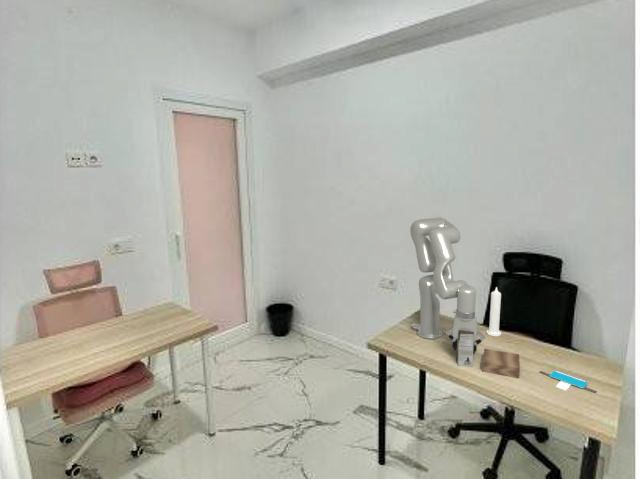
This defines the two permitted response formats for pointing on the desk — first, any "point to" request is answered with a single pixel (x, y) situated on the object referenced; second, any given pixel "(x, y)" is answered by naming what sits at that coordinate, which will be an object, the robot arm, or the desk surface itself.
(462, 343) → the coffee box
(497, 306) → the candle
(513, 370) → the walnut block
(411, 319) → the desk surface
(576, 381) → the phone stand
